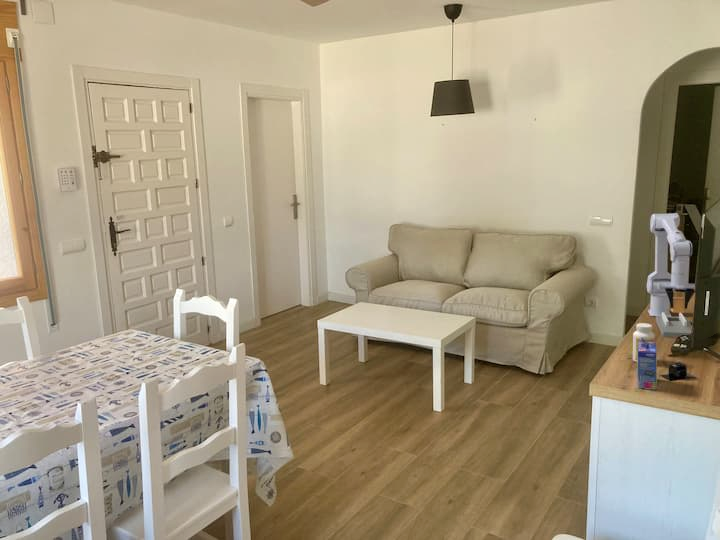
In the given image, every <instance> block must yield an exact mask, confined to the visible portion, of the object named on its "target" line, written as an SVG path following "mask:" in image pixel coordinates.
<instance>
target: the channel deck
mask: <svg viewBox="0 0 720 540" xmlns="http://www.w3.org/2000/svg"><path fill="white" fill-rule="evenodd" d="M655 322H656V324H657V327H658V329H659V331H660V334H661V336H662V337H663V338H676V337H679V336H681V335H690V334H691V330H692V327H693V325H692V324H691V322H690V321H689V319H688V317H686V316H684V314H683V313H678V316H671V317H669V316H666V315H665V313H664V312H662V316H655Z"/></svg>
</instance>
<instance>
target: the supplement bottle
mask: <svg viewBox="0 0 720 540" xmlns="http://www.w3.org/2000/svg"><path fill="white" fill-rule="evenodd" d="M652 329H653V326H652V324H649V323H645V322H639V323H637V324H636V330H635V331H634V332H633V333H632V361H634V362H635V363H637V346H638V341H642V338H643V339H644V341H646V342H656V338H655V337H656V335H655V333H654V332H652Z"/></svg>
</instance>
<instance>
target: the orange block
mask: <svg viewBox="0 0 720 540" xmlns="http://www.w3.org/2000/svg"><path fill="white" fill-rule="evenodd" d="M685 310H686V309H685V297H673V308H671V307H670V311H671V312H672V313H678V314H679V313H682V314H683V313H684V314H685Z"/></svg>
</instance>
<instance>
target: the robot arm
mask: <svg viewBox="0 0 720 540" xmlns="http://www.w3.org/2000/svg"><path fill="white" fill-rule="evenodd" d="M680 219H681V218H680V215H679V214H678V212H674V213H652V215H651V216H650V222H649V225H650V228H649V229H650V233H652V234H654V237H655V238H654V239H655V241H654V242H655V244H654V245H655V250H654V255H655V256H654V257H655V258H654V271H653V272H652V273H650V274H649V275H648V276H647V281H646V291H647V293H648V294H650V304H649V305H650V306H649V307H650V308H649V309H647V312H648V315H649V316H650V317H656V316H662V312H664V313H665V315H666V316H669V317H672V314H671V312H670V309H671V308H673V298H674V294H675V290H682V291H684V299H685V310H687V309H688V306H689V303H690V300H691V299H692V297H693V295H694V294H695V291H696V290H695V284H696V283H689V274H690V257H691V256H692V255H693V243H692V242H691V240H688V239H686V237H685V235H684V233H683V232H682V230H679V227H680V222H681V221H680ZM668 248H669V249H668ZM668 250H669V252H668ZM669 253H670V261H671V270H670V271H671V273H670V272H668V260H669V259H668V255H669Z"/></svg>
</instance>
